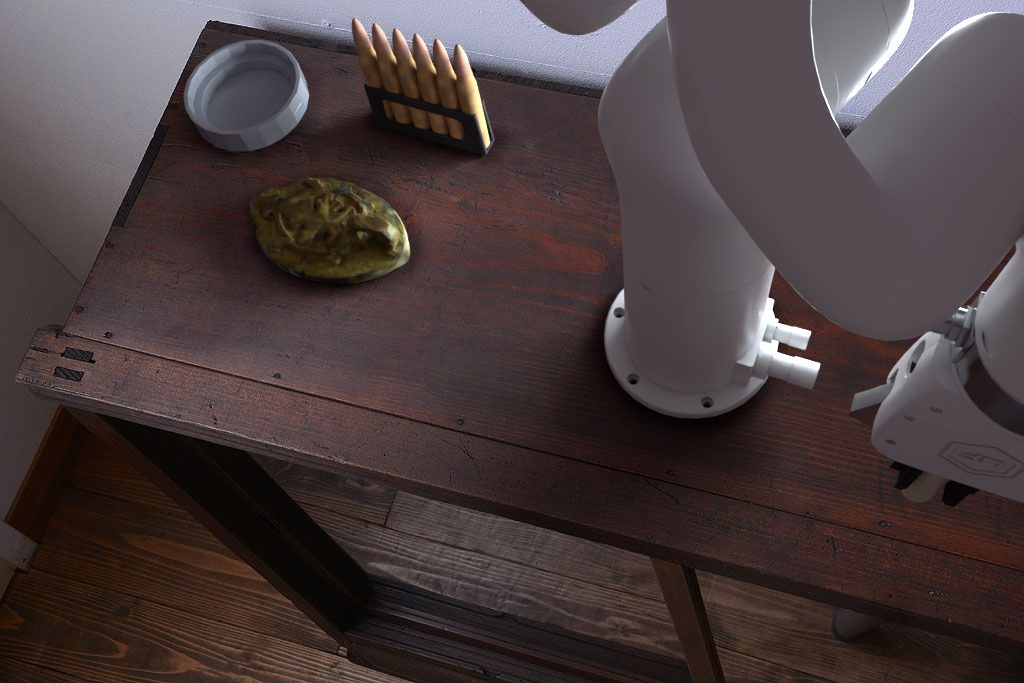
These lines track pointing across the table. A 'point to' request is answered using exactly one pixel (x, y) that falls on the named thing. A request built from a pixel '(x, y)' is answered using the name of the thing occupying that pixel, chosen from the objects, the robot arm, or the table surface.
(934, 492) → the red-capped cylinder
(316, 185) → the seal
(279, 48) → the dish
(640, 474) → the table surface
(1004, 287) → the robot arm
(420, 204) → the table surface
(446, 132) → the ammunition clip
